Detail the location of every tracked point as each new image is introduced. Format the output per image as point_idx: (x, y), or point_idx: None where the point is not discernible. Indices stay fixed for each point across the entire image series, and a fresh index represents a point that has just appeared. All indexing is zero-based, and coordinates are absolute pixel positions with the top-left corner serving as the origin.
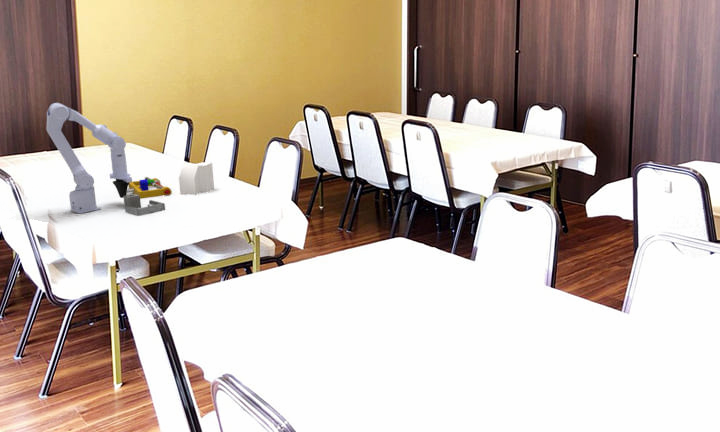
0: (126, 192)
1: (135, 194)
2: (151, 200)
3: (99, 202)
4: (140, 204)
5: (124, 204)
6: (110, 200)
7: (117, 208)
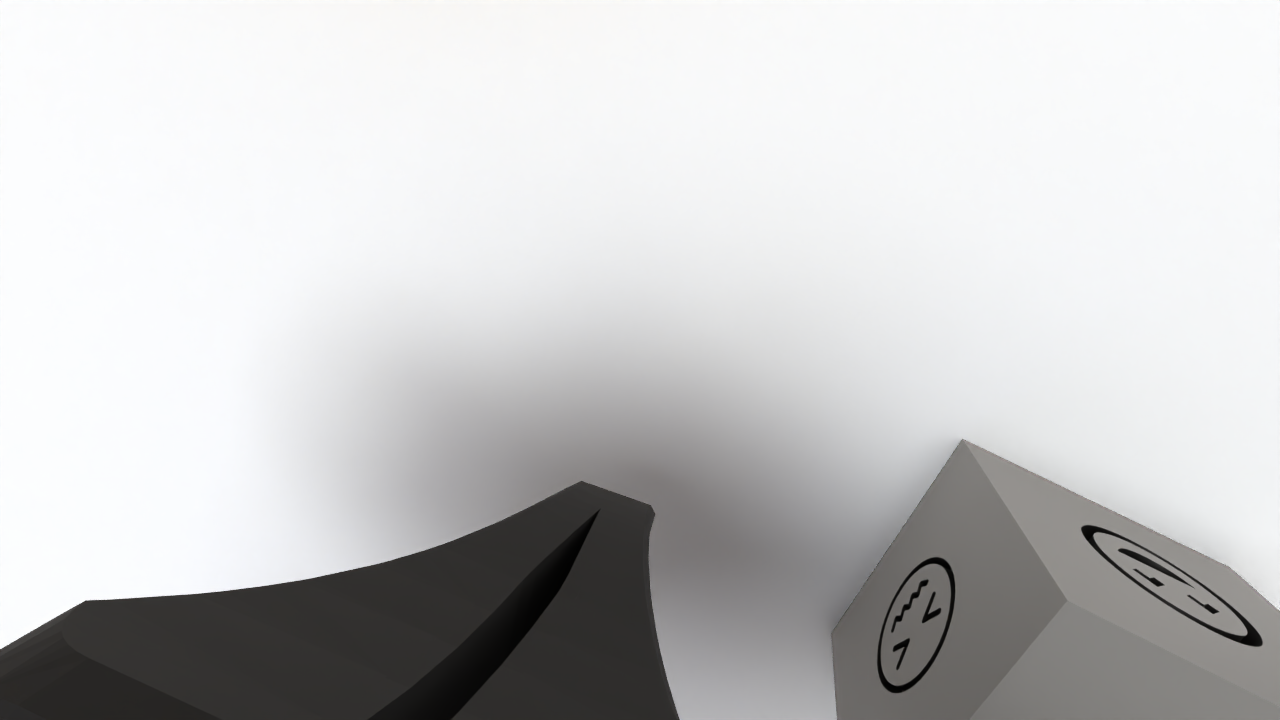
0: (646, 564)
1: (1168, 694)
2: None
3: (161, 460)
4: (1275, 616)
5: (841, 681)
6: (180, 293)
7: (753, 717)
